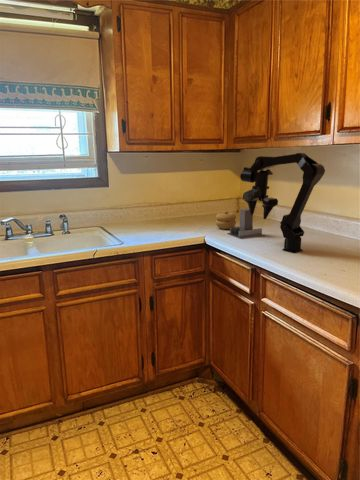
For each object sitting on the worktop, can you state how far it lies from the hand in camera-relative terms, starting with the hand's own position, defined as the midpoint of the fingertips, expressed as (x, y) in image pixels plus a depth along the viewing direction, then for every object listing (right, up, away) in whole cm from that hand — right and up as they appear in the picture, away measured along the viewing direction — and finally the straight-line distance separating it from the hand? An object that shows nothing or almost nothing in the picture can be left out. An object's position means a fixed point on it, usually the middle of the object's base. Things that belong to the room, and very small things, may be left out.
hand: (258, 217), depth 177 cm
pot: (-11, -4, +38) cm, 39 cm away
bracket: (-2, -8, +21) cm, 22 cm away
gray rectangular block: (-2, -8, +21) cm, 22 cm away
